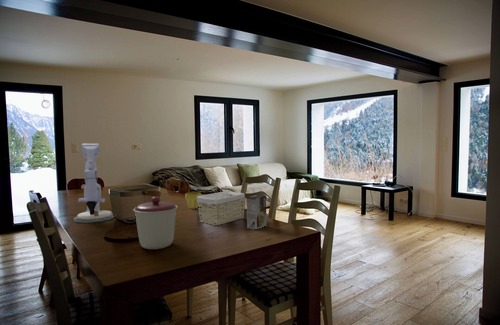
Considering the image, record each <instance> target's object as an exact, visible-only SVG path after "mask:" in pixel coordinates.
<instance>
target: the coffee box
mask: <svg viewBox="0 0 500 325" xmlns="http://www.w3.org/2000/svg"><path fill="white" fill-rule="evenodd" d="M264 226H265V227H267V195H262V194H254V195H249V196H247V197H246V228H247V229H249V228H250V229H251V230H254V229H258V230H260V229H262V227H263V228H264ZM259 228H260V229H259Z"/></svg>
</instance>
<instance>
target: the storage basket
mask: <svg viewBox="0 0 500 325" xmlns="http://www.w3.org/2000/svg"><path fill="white" fill-rule="evenodd" d="M245 200H246V195H245V193H244V192H238V191H237V192H235V191H226V190H225V191H220V192H215V193H209V194H203V195H202V194H201V196H197V203H198V207H199V208H198V215H199V222H201V223H203V222H204V224H207V223H208V225H211V224H212V225H211V226H222V225H224V224H228V223H230V222H235V221H238V220H241V219H244V218H245ZM221 224H222V225H221Z"/></svg>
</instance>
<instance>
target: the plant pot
mask: <svg viewBox="0 0 500 325" xmlns="http://www.w3.org/2000/svg"><path fill="white" fill-rule="evenodd" d="M184 196H185V200H186V204H187V207H188V209H190V210H191V209H193V210H195V208H196V209H199V208H198V203H197V196H202V193H201V192H186V193H185V194H184Z"/></svg>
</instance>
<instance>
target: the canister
mask: <svg viewBox="0 0 500 325" xmlns="http://www.w3.org/2000/svg"><path fill="white" fill-rule="evenodd" d="M150 201H151V202H145V203H143V202H142V204H140V205H138V206H137V207H135V208H134V209H133V211H134V212H135V216H136V220H135V222H136V228H137V234H138V240H139V245H141V247H142V248H143V249H146V250H159V249H160V250H161V249H165V248H167V247H169V246H171V245H172V244H173V241H174V237H175V228H176V215H177V209H178V208H179V207H178V205H176V204H175V203H174V202H169V201H161V199H160V197H159V196H153V197H151V199H150Z"/></svg>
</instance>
